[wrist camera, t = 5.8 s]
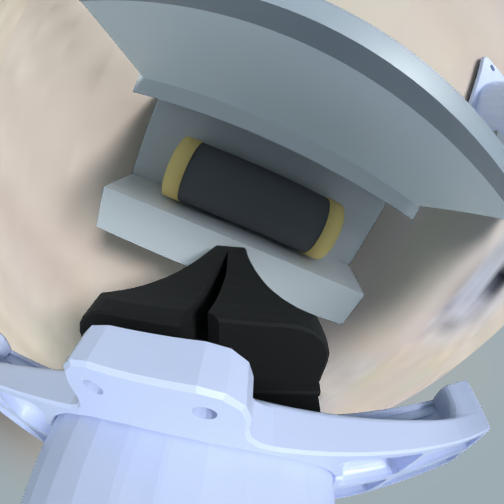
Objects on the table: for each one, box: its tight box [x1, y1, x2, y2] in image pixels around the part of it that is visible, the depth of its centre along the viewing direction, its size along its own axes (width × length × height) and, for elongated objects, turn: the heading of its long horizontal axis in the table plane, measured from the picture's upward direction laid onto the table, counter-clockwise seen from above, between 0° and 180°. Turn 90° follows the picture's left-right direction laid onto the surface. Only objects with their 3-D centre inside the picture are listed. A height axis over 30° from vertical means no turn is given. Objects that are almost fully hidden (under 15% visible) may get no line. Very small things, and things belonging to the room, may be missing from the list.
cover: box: [79, 0, 504, 219], centre depth 6 cm, size 13×7×1 cm
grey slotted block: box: [97, 74, 420, 325], centre depth 13 cm, size 14×8×4 cm, turn 66°
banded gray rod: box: [162, 136, 344, 260], centre depth 13 cm, size 8×3×3 cm
